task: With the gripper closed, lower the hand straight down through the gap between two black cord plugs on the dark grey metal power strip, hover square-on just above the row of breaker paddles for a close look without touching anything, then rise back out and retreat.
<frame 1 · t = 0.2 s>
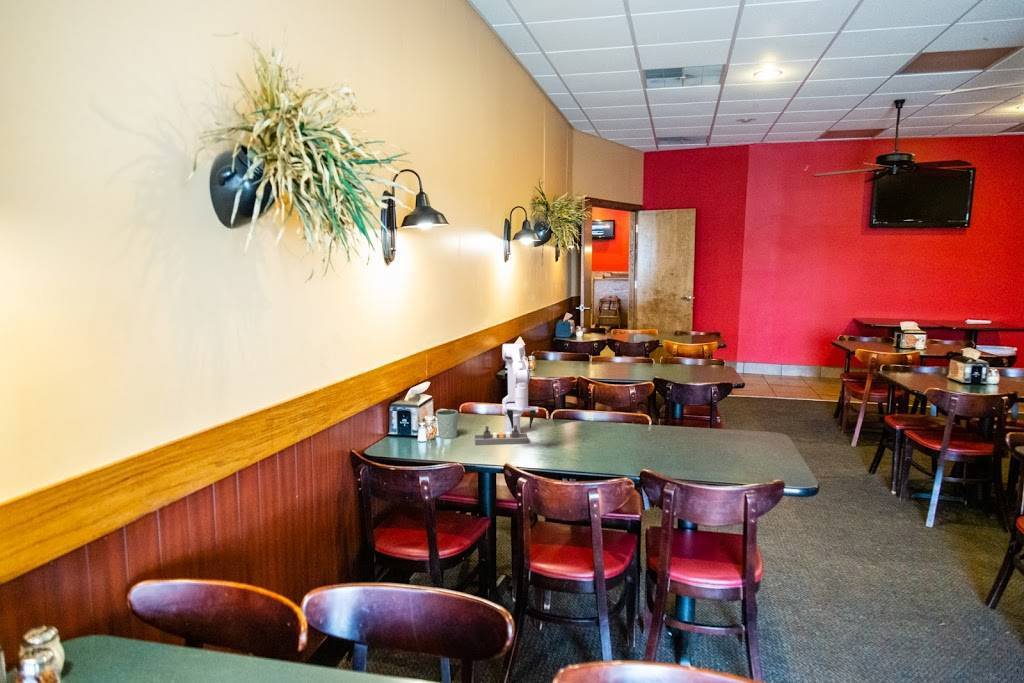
hand: (521, 427, 268), 10 cm above the table, fingers open, 7 cm apart
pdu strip: (501, 442, 281), on the table
cord plug b: (515, 436, 282), point 2 cm above the table, touching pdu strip
cord plug near: (487, 437, 280), point 2 cm above the table, touching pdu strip
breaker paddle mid: (501, 434, 281), point 3 cm above the table, hinge at 0.0°, touching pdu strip
gray cup: (447, 437, 290), on the table
breaker paddle a: (494, 435, 281), point 3 cm above the table, hinge at 0.0°, touching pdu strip
breaker paddle b: (507, 434, 281), point 3 cm above the table, hinge at 0.0°, touching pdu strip
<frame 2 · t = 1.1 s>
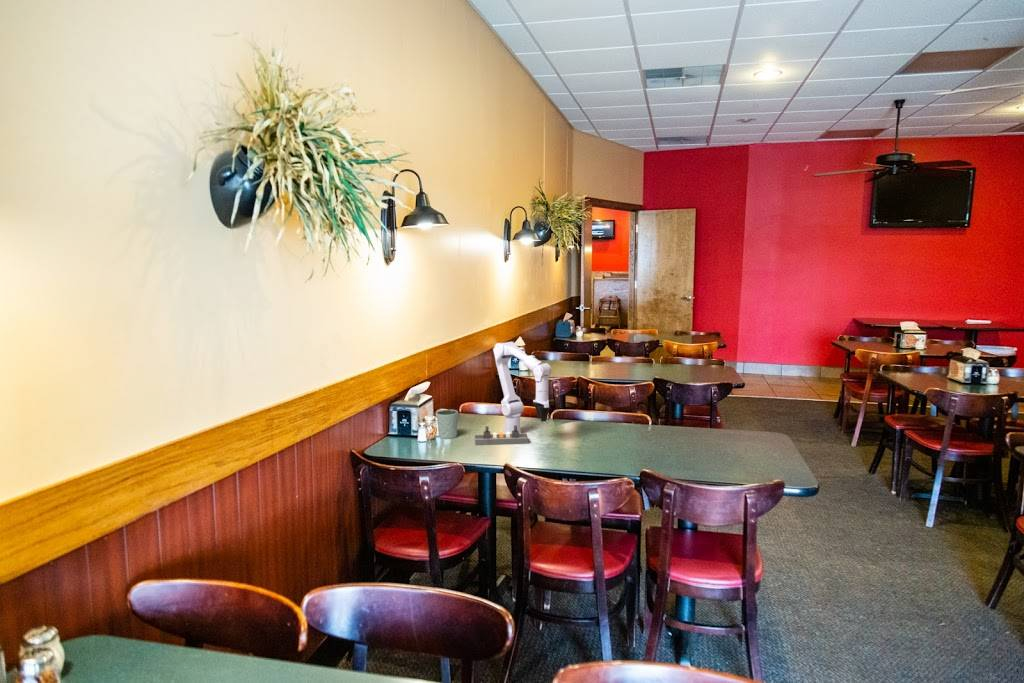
hand: (541, 419, 280), 10 cm above the table, fingers open, 5 cm apart
nothing on the table moved.
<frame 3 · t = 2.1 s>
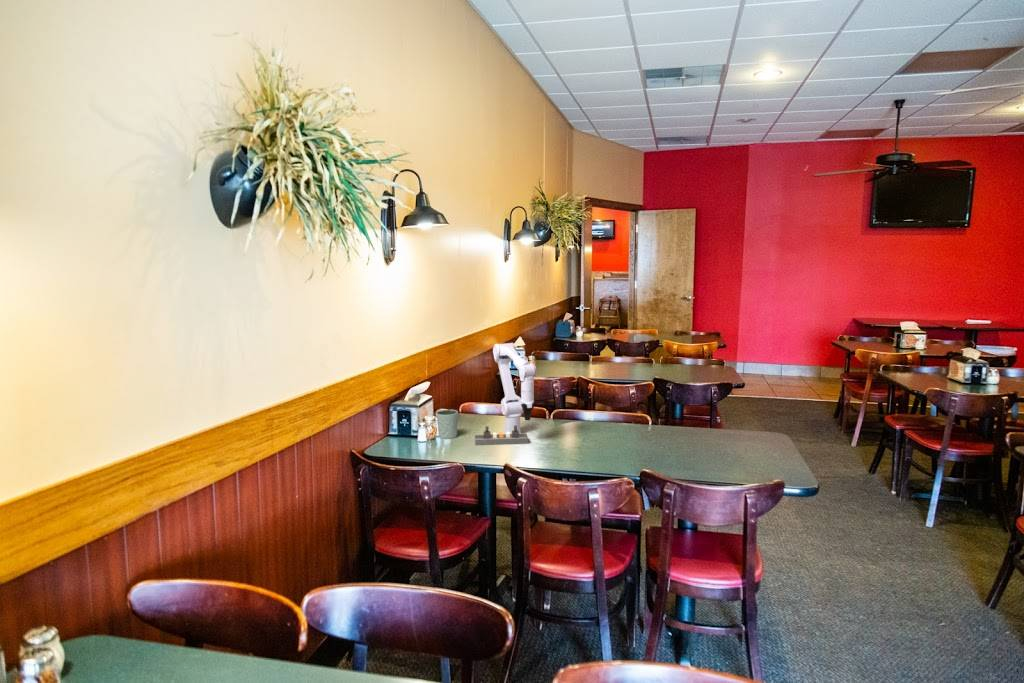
hand: (527, 419, 280), 10 cm above the table, fingers closed
nothing on the table moved.
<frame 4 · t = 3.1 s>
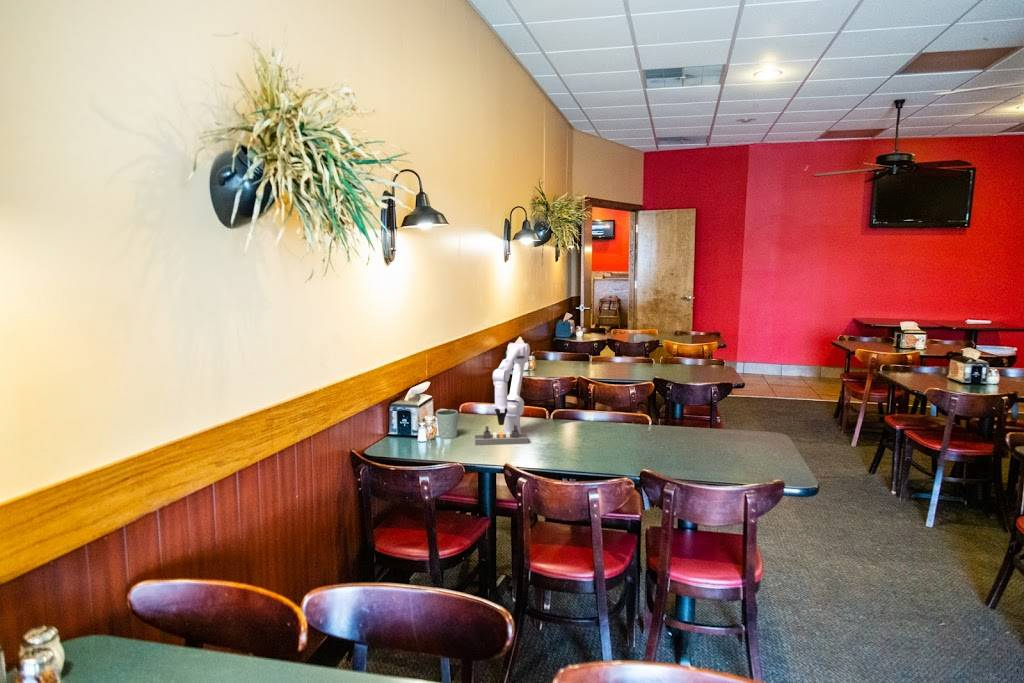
hand: (501, 424, 280), 8 cm above the table, fingers closed
nothing on the table moved.
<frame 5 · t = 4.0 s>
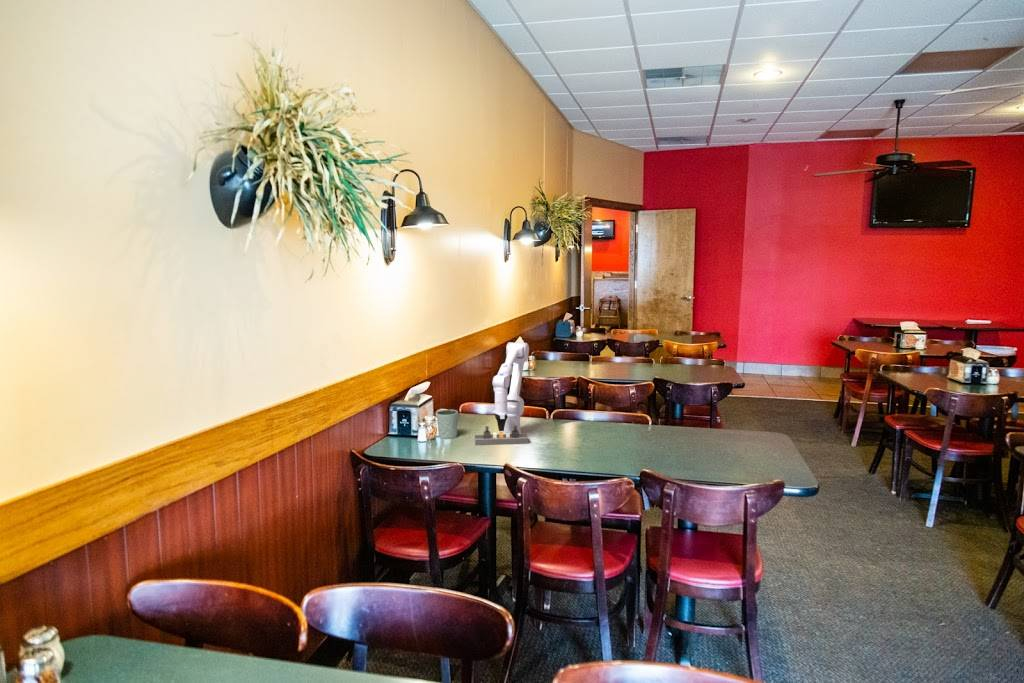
hand: (501, 430, 281), 5 cm above the table, fingers closed
nothing on the table moved.
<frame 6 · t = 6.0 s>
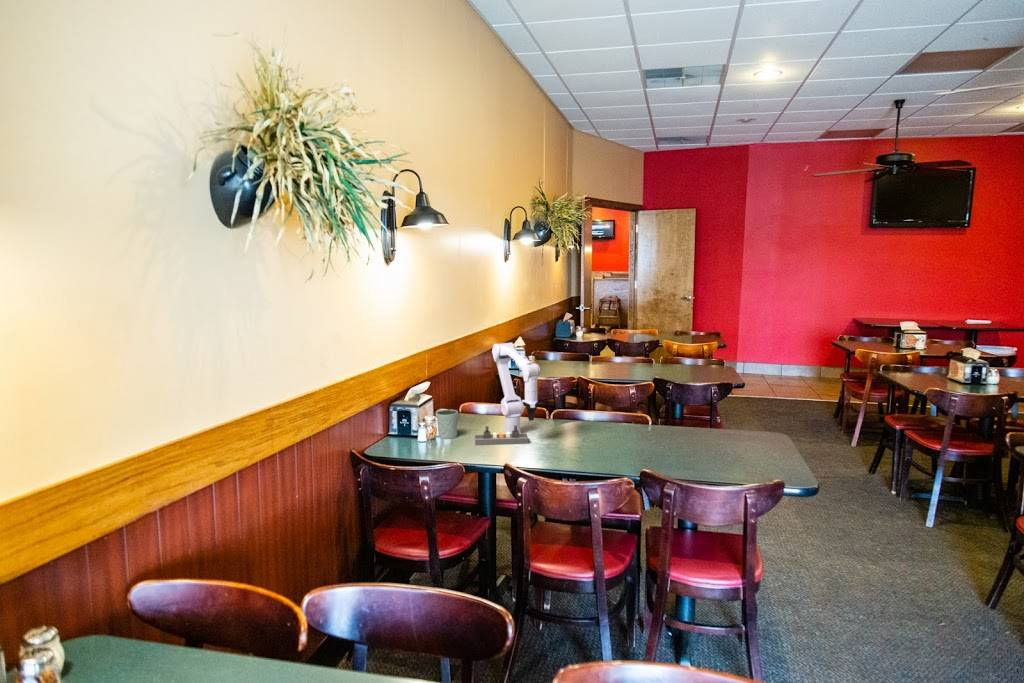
hand: (531, 420, 280), 10 cm above the table, fingers closed
nothing on the table moved.
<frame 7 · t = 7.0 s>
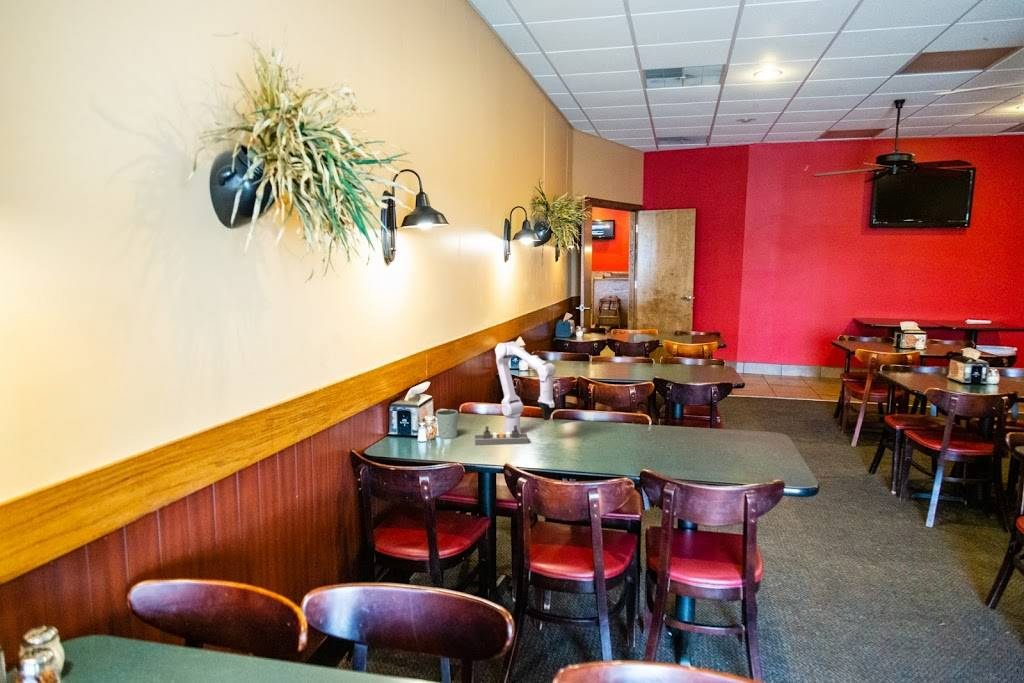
hand: (546, 419, 280), 10 cm above the table, fingers closed
nothing on the table moved.
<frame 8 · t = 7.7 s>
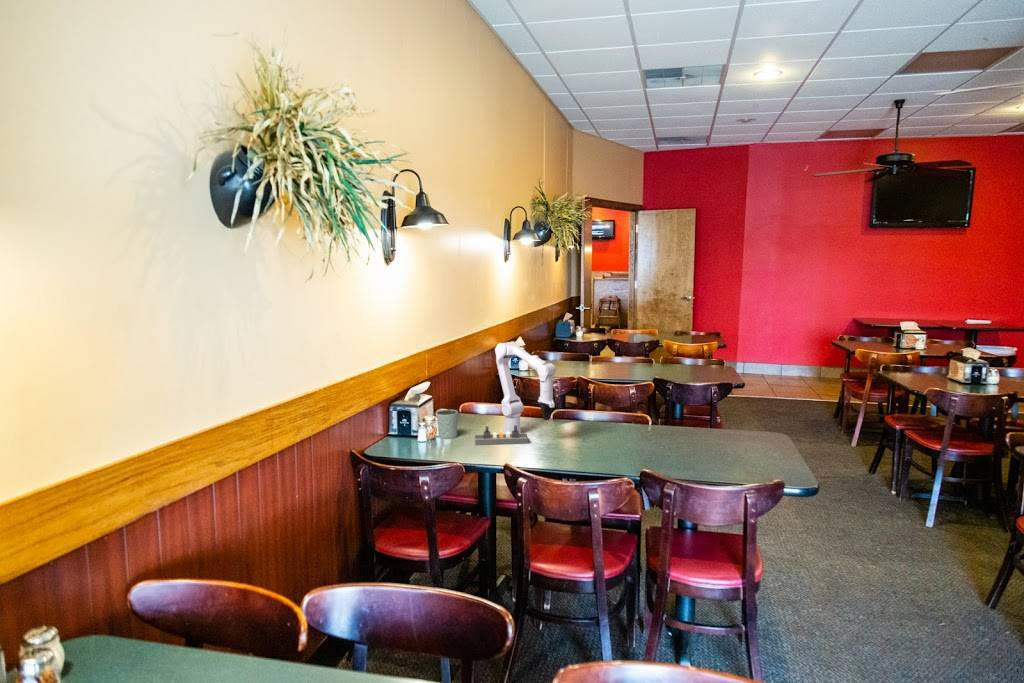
hand: (546, 419, 280), 10 cm above the table, fingers closed
nothing on the table moved.
at the end: cord plug near moved 0.0 cm from its start; cord plug b moved 0.0 cm from its start; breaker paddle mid at +0° (first picture: +0°) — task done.
